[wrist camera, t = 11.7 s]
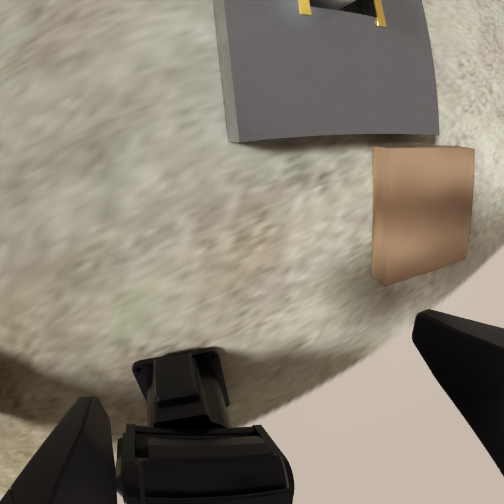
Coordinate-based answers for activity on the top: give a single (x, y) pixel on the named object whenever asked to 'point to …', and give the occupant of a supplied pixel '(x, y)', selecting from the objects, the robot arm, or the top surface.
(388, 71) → the plate
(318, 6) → the white peg
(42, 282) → the top surface
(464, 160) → the brown square slab
